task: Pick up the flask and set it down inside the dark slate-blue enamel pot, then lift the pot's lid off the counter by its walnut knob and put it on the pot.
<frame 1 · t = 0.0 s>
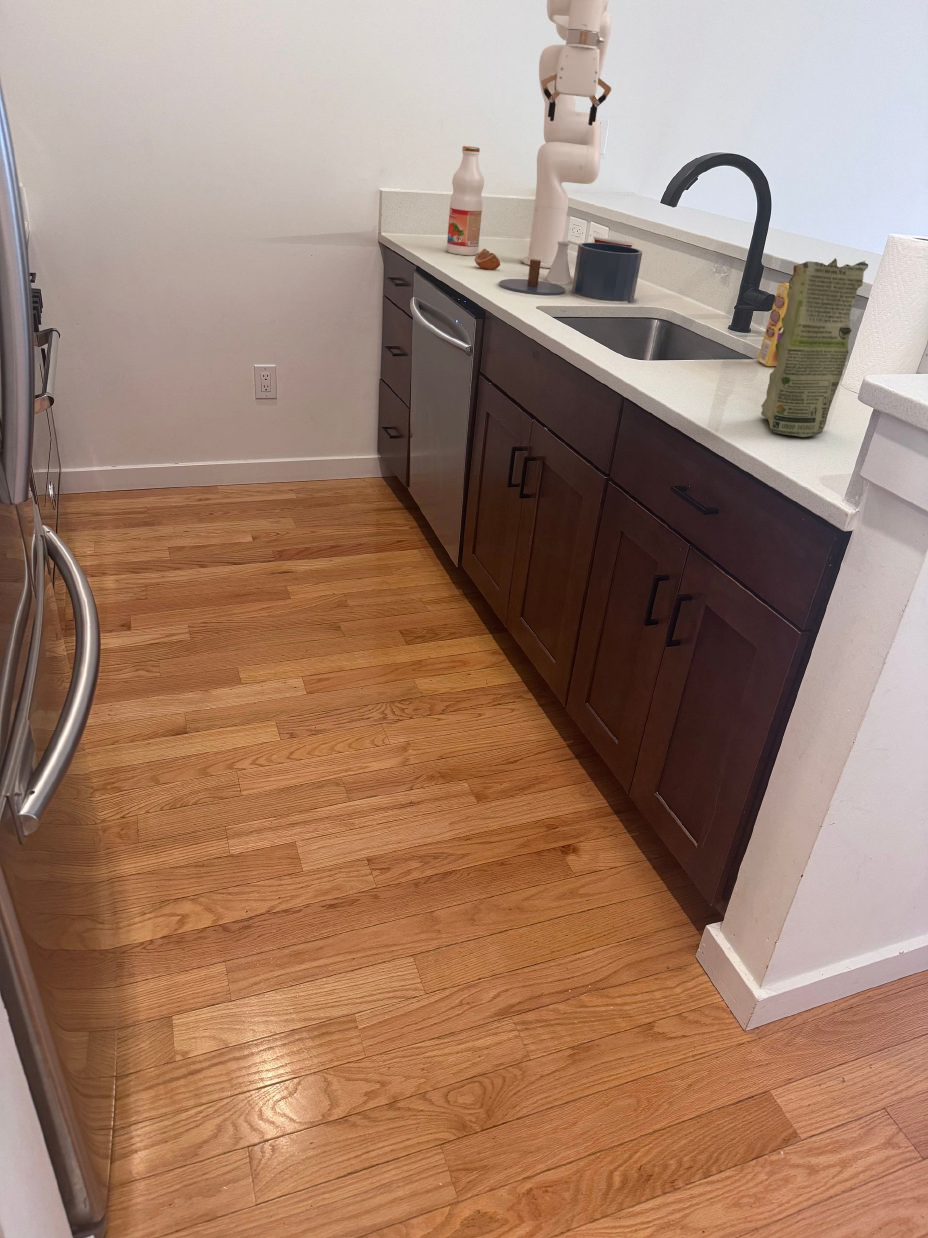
hand: (570, 122, 217), 37 cm above the worktop, tool pointing down, fingers open, 9 cm apart
pouch: (787, 428, 138), on the worktop
candy box: (781, 365, 175), on the worktop
flask: (557, 282, 233), on the worktop
plastic cup: (605, 286, 235), on the worktop
fruit slice: (486, 271, 239), on the worktop
lid: (532, 287, 219), point 1 cm above the worktop
pot: (602, 296, 221), on the worktop
fruit juice: (462, 253, 261), on the worktop
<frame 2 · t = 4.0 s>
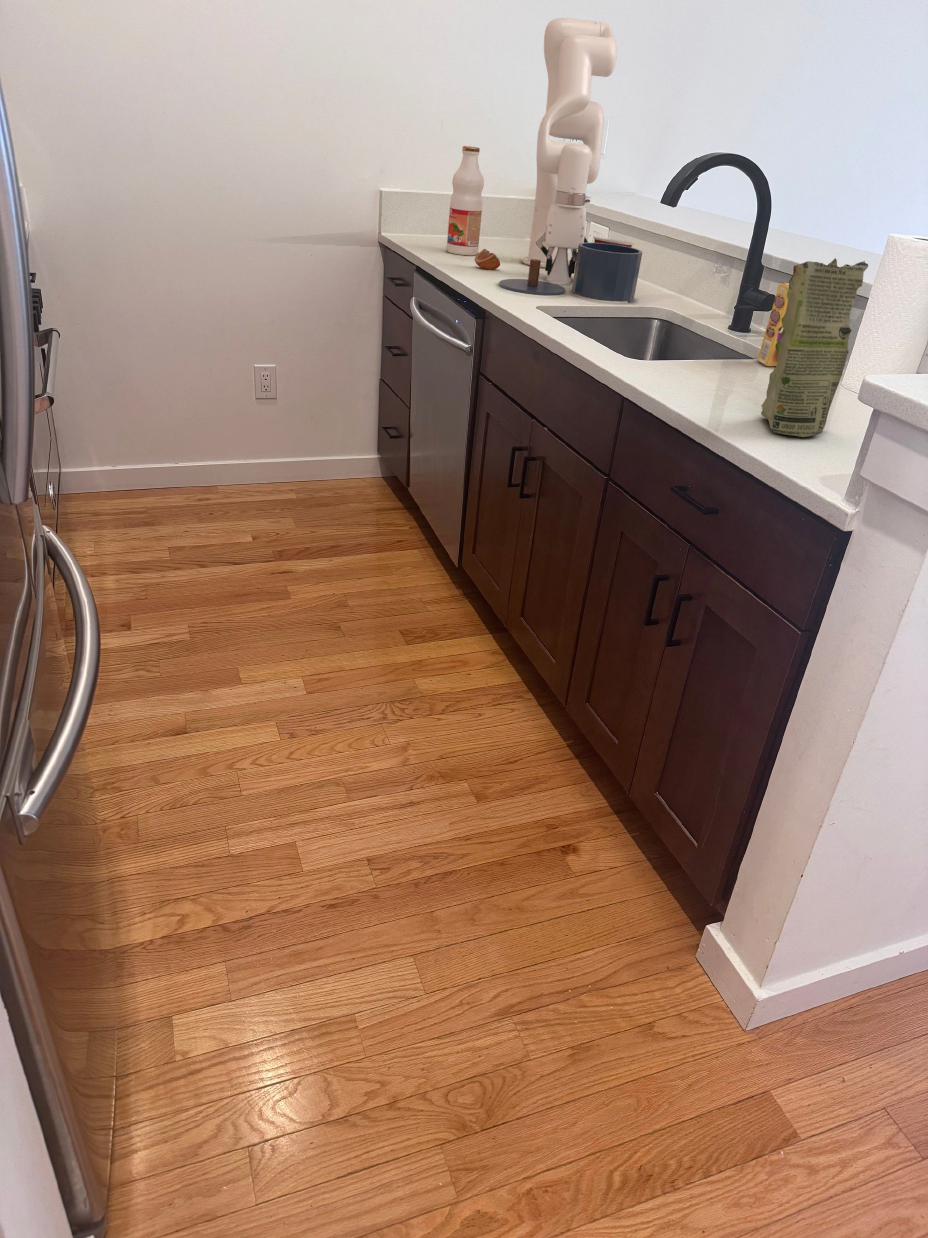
hand: (559, 274, 232), 2 cm above the worktop, tool pointing down, fingers closed on flask, 4 cm apart
flask: (557, 282, 233), on the worktop, touching gripper
everything else where it was.
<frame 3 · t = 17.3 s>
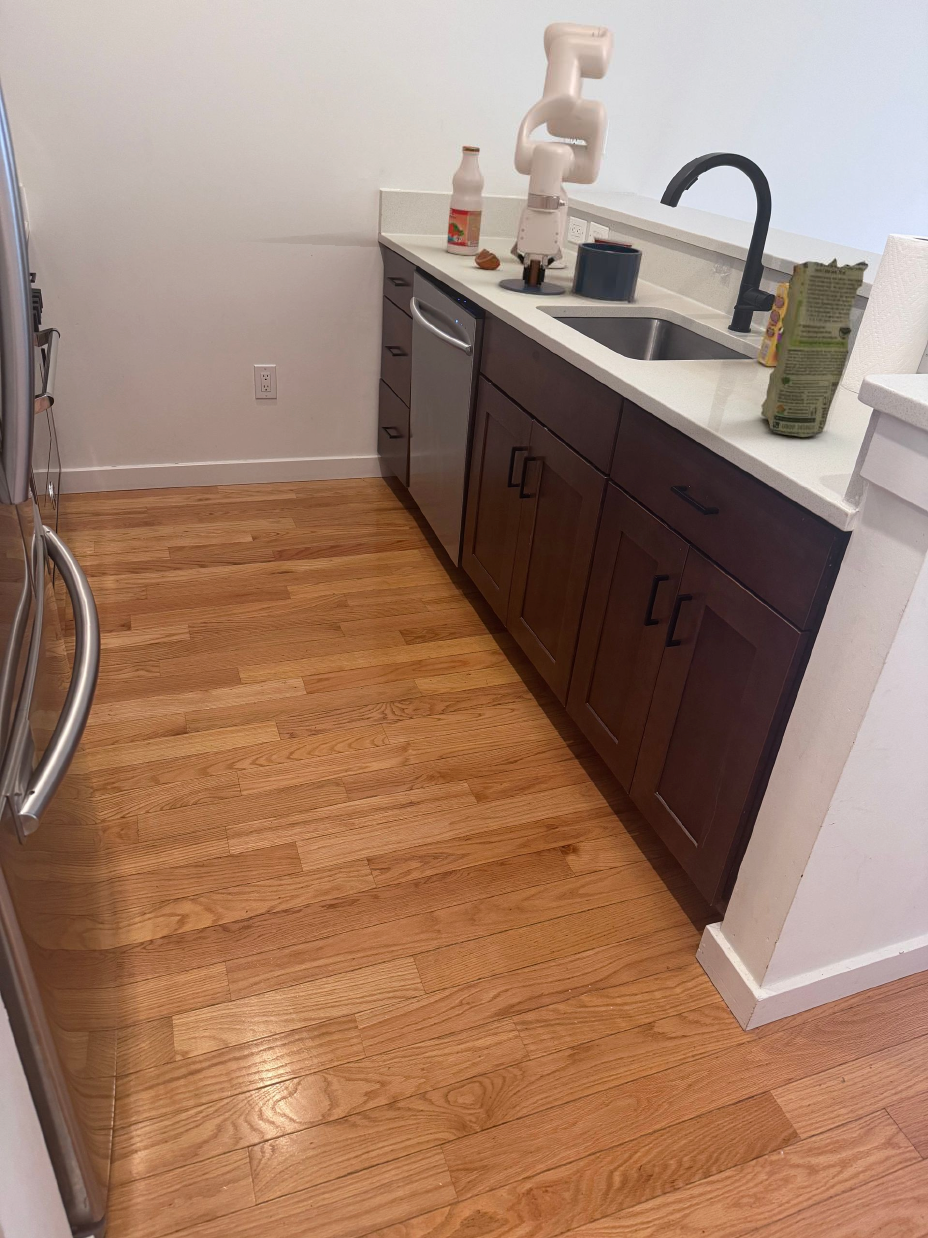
hand: (532, 283, 218), 2 cm above the worktop, tool pointing down, fingers closed on lid, 2 cm apart
flask: (602, 295, 221), resting on pot
lid: (532, 287, 219), point 1 cm above the worktop, touching gripper
everything else where it was.
when the fingers open (13 cm above the worktop, at t = 24.3 s): lid stays where it is, resting on pot.
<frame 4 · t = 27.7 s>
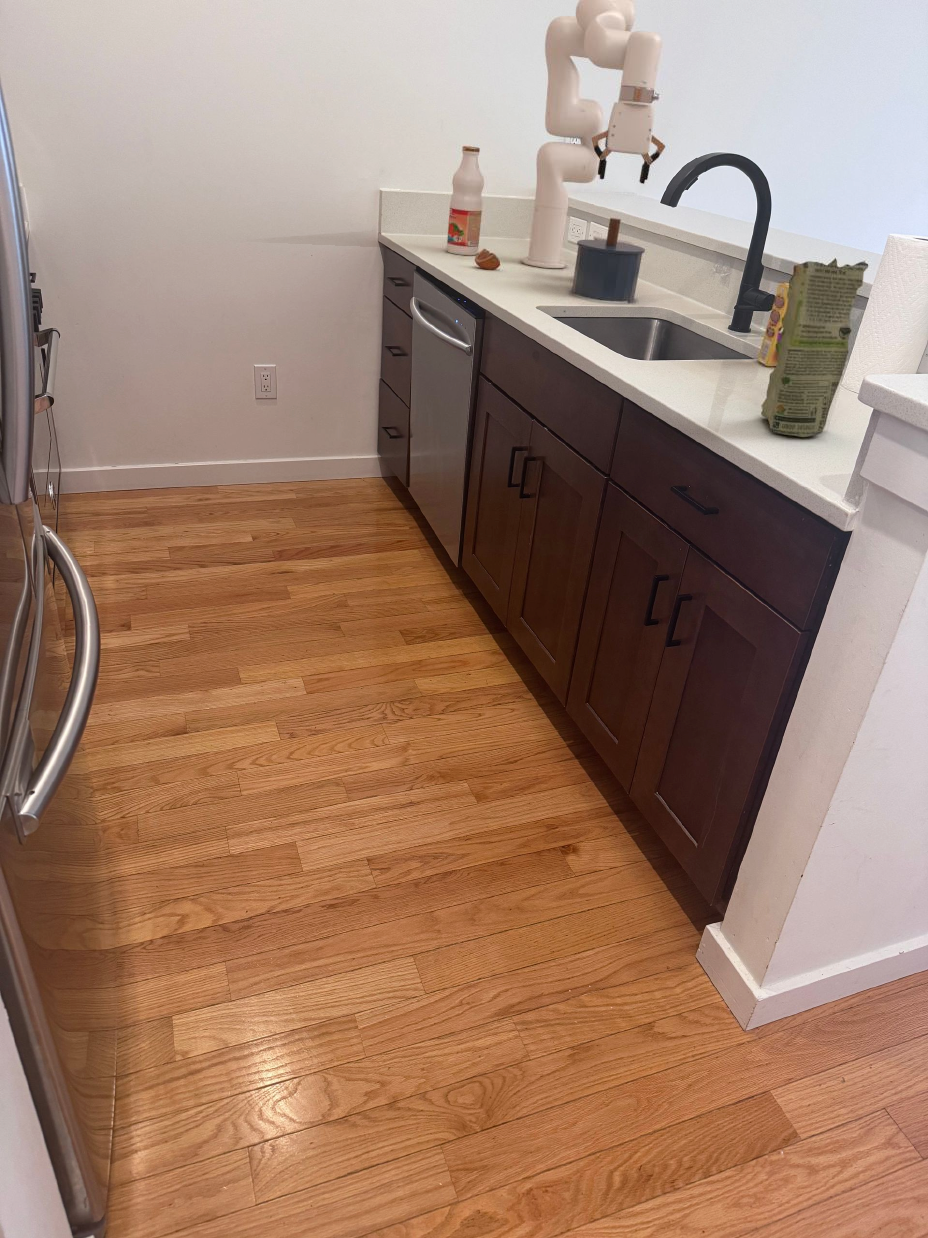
hand: (621, 180, 207), 26 cm above the worktop, tool pointing down, fingers open, 9 cm apart
lid: (610, 247, 215), point 11 cm above the worktop, touching pot
everything else where it was.
at the end: flask inside the target area in the pot (0.1 cm from its centre), point 0.3 cm above the pot's base; lid 0.1 cm off-centre on the pot, point 11.5 cm above the pot's base; lid tilted 0° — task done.
